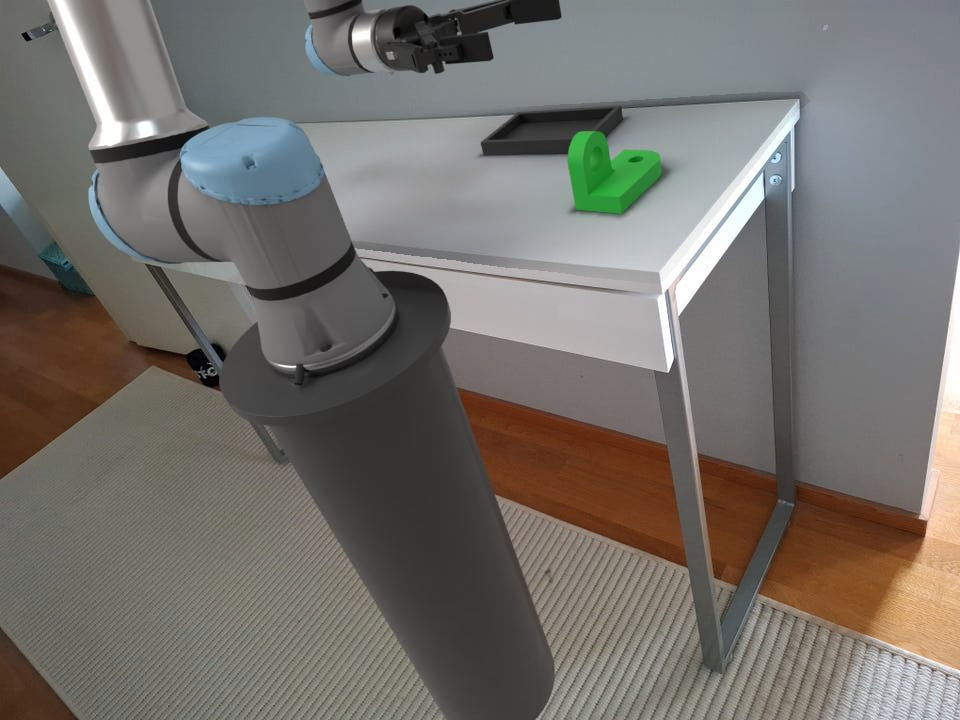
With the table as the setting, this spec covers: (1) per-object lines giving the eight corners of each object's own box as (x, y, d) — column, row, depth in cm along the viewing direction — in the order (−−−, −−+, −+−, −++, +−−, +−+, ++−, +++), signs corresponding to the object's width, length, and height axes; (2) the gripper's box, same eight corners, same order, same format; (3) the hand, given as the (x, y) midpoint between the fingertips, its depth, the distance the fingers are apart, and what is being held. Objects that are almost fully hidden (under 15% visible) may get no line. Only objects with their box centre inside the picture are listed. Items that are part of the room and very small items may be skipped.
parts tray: (589, 152, 90) (587, 138, 89) (483, 155, 100) (480, 142, 99) (623, 119, 97) (621, 105, 96) (520, 124, 107) (518, 112, 106)
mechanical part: (621, 213, 74) (612, 144, 69) (576, 209, 77) (564, 143, 73) (670, 166, 80) (664, 100, 75) (626, 164, 84) (617, 101, 79)
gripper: (461, 38, 96) (588, 24, 83) (338, 106, 82) (465, 102, 69) (447, -20, 91) (578, -44, 78) (314, 42, 78) (445, 26, 65)
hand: (525, 25), depth 74 cm, fingers open, 13 cm apart
